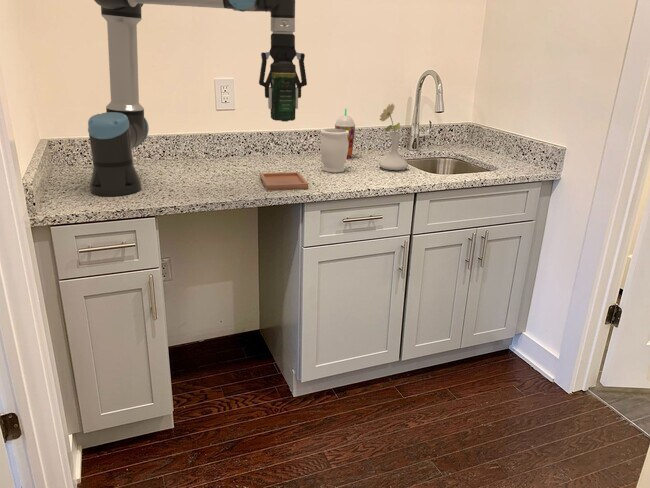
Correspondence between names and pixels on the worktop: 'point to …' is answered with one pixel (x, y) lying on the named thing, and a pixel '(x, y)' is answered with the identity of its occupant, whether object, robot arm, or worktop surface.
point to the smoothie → (348, 125)
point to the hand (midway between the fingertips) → (283, 108)
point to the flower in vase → (392, 159)
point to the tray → (283, 181)
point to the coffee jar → (283, 91)
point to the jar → (334, 149)
